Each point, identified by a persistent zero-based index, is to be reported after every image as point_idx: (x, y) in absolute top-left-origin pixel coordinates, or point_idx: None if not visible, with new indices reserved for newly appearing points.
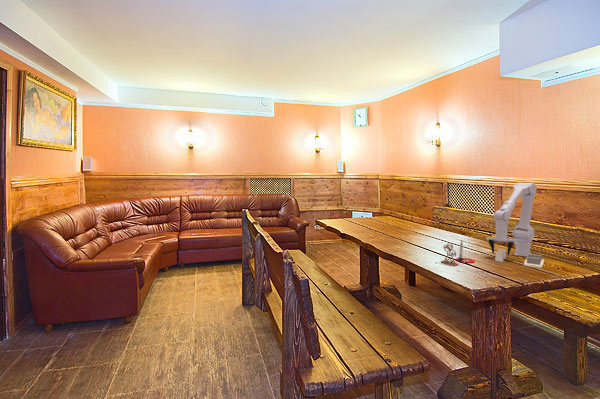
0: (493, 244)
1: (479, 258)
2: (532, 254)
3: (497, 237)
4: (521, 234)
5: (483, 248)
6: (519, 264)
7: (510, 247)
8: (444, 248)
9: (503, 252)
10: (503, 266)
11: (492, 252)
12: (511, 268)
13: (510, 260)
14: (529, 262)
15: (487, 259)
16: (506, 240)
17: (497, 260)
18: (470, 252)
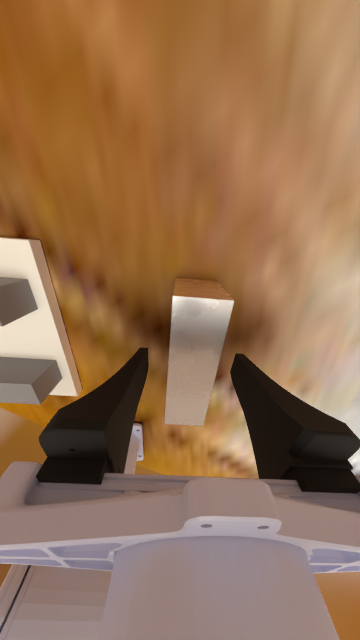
0: (269, 422)
1: (308, 297)
2: (15, 396)
3: (308, 607)
4: (52, 625)
5: (252, 459)
6: (73, 264)
7: (99, 390)
8: None
9: (170, 343)
10: (153, 101)
11: (244, 356)
12: (76, 41)
13: (139, 335)
14: (4, 279)
15: (261, 295)
16: (110, 509)
17: (205, 281)
18: (323, 395)
